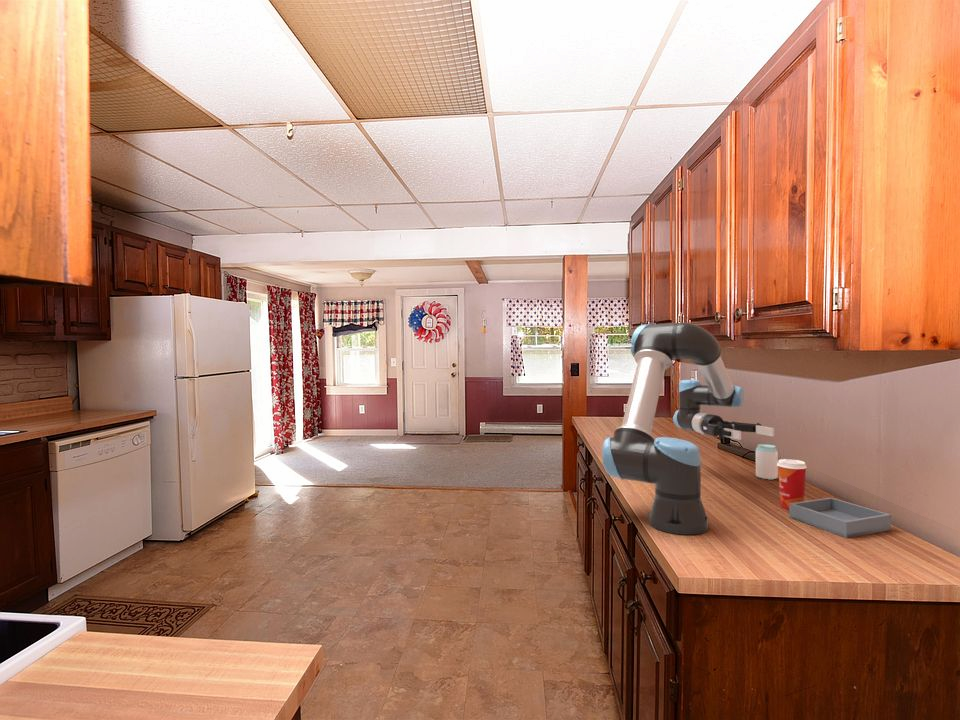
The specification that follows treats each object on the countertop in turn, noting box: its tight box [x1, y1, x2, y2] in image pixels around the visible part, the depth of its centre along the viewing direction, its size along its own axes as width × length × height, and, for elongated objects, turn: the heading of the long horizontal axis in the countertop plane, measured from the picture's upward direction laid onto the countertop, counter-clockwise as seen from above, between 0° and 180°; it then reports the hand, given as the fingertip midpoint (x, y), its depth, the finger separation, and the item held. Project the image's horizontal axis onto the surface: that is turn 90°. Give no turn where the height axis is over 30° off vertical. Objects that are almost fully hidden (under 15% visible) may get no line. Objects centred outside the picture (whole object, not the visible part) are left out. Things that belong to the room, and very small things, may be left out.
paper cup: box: [777, 458, 808, 511], centre depth 147 cm, size 8×8×14 cm
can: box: [755, 443, 779, 481], centre depth 180 cm, size 7×7×12 cm
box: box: [788, 497, 892, 539], centre depth 134 cm, size 16×16×4 cm
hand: (757, 434), depth 159 cm, fingers open, 13 cm apart
